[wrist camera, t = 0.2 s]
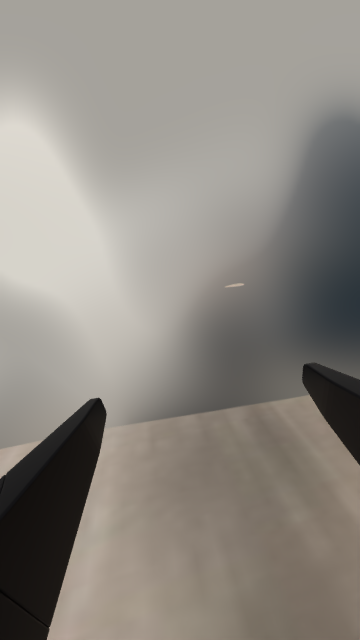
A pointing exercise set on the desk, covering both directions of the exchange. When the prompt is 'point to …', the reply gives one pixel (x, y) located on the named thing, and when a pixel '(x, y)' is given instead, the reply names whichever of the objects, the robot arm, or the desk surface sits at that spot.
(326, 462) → the desk surface
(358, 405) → the robot arm
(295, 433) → the desk surface
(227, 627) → the desk surface
